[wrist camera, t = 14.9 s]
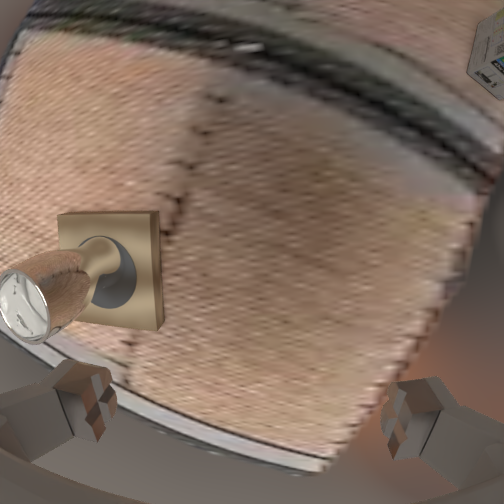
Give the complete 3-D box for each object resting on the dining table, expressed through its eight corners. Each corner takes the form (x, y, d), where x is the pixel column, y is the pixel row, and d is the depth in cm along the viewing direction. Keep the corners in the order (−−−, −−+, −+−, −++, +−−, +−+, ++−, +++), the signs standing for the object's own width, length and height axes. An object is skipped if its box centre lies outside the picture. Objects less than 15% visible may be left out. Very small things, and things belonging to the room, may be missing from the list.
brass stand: (69, 212, 37) (55, 215, 34) (158, 210, 37) (148, 214, 34) (80, 311, 41) (69, 320, 37) (164, 321, 40) (156, 332, 37)
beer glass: (81, 286, 36) (3, 337, 22) (77, 231, 35) (-11, 262, 20) (129, 293, 36) (59, 355, 21) (127, 233, 34) (44, 271, 20)
